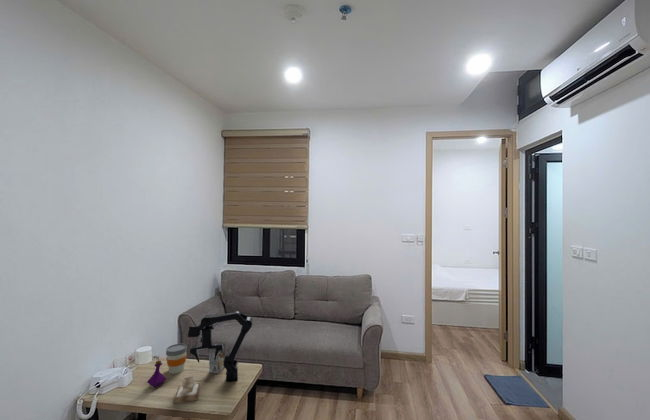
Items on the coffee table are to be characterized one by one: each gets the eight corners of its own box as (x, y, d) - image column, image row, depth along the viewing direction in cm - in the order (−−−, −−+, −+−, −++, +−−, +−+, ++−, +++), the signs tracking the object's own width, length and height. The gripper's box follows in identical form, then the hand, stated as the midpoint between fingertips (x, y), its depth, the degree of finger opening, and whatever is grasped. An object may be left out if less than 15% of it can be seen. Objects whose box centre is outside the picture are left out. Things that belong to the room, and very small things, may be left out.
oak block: (193, 386, 176) (193, 376, 176) (192, 391, 172) (192, 380, 172) (184, 388, 175) (183, 377, 175) (182, 393, 170) (182, 382, 170)
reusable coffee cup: (181, 375, 195) (181, 351, 195) (162, 375, 195) (161, 351, 196) (190, 365, 208) (190, 343, 208) (172, 365, 208) (172, 343, 208)
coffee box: (216, 365, 207) (216, 341, 207) (225, 366, 206) (225, 342, 206) (209, 372, 198) (208, 347, 198) (217, 373, 197) (217, 348, 197)
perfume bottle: (166, 383, 186) (166, 354, 186) (155, 390, 179) (155, 359, 179) (158, 380, 189) (158, 351, 189) (147, 387, 182) (146, 357, 182)
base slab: (200, 388, 180) (200, 382, 180) (197, 399, 169) (197, 394, 169) (178, 391, 177) (178, 386, 177) (174, 403, 166) (174, 398, 166)
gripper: (223, 329, 198) (223, 353, 198) (192, 333, 193) (192, 357, 193) (222, 336, 188) (222, 361, 188) (189, 340, 183) (189, 366, 183)
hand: (206, 361), depth 188 cm, fingers open, 9 cm apart
